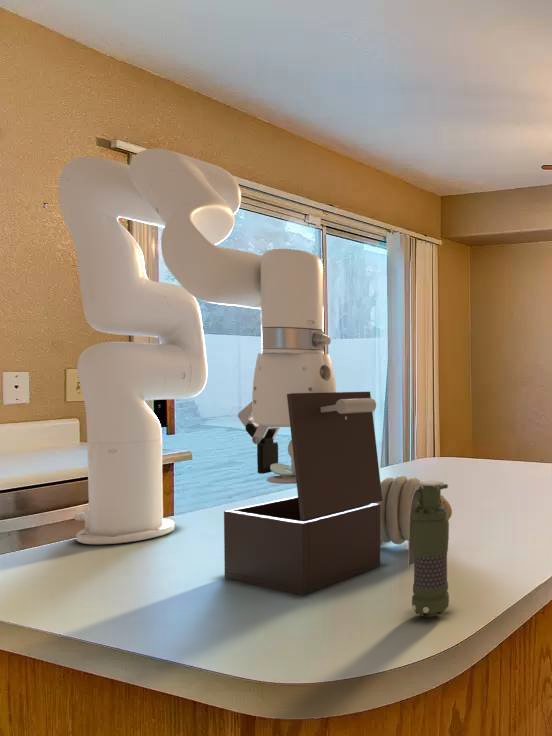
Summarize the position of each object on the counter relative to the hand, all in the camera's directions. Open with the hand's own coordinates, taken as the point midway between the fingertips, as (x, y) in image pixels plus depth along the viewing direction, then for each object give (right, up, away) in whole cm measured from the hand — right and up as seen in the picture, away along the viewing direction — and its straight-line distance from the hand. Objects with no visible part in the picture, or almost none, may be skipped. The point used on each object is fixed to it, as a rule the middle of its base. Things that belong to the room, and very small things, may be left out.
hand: (294, 472), depth 81 cm
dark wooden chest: (+2, -13, 0) cm, 14 cm away
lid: (+7, +3, -3) cm, 8 cm away
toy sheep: (+10, -13, +12) cm, 21 cm away
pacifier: (0, -1, 0) cm, 1 cm away
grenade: (+23, -14, -14) cm, 30 cm away
